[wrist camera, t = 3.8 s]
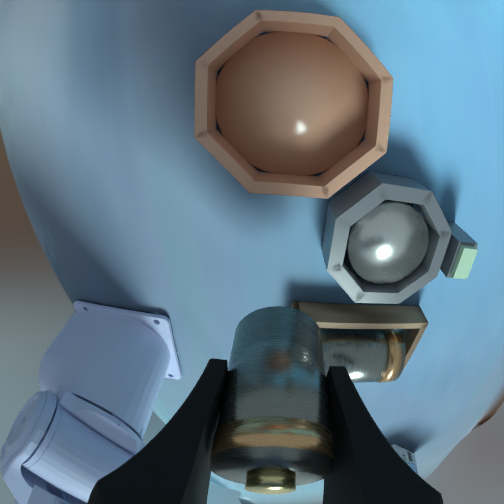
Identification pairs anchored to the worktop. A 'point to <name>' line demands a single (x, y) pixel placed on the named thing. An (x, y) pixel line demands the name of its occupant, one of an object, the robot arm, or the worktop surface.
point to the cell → (274, 405)
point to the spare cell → (365, 353)
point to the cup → (292, 103)
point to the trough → (369, 319)
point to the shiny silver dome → (387, 242)
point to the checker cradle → (439, 246)
